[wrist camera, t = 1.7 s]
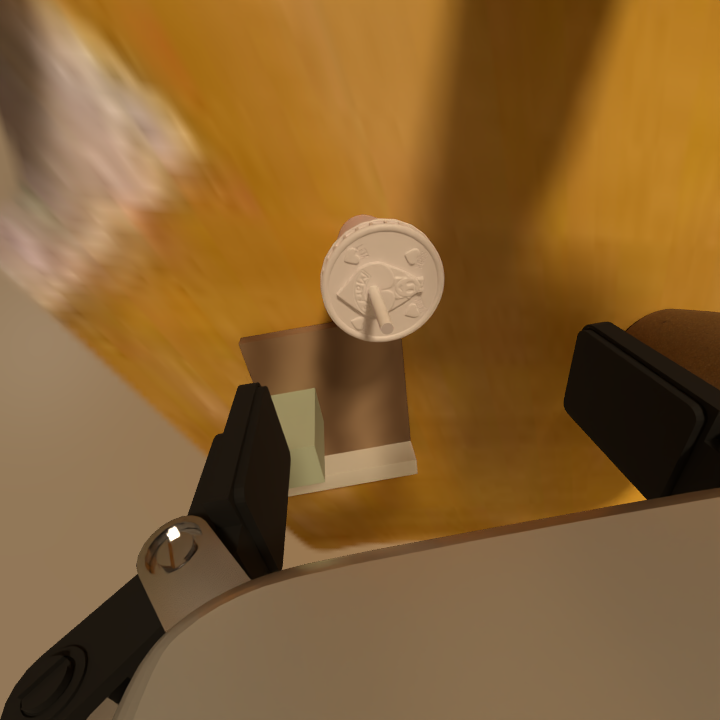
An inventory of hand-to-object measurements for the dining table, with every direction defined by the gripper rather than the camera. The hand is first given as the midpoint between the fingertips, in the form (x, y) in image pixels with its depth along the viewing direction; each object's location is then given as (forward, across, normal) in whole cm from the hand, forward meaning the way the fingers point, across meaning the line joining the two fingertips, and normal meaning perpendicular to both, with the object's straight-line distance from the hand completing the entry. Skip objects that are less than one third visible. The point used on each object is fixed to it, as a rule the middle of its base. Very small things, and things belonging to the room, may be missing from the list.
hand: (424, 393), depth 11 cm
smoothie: (+18, 0, 0) cm, 19 cm away
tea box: (+17, +8, +13) cm, 23 cm away
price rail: (+18, +4, +21) cm, 28 cm away
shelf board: (+18, +4, +14) cm, 23 cm away
